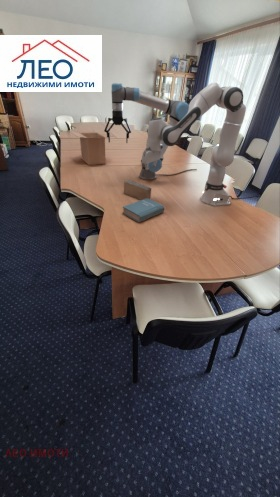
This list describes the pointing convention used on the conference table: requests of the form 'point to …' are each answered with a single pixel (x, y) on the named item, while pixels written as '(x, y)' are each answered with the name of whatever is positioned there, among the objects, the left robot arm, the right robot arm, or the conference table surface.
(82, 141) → the box
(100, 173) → the conference table surface
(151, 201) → the book
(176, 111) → the left robot arm
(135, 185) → the bar
